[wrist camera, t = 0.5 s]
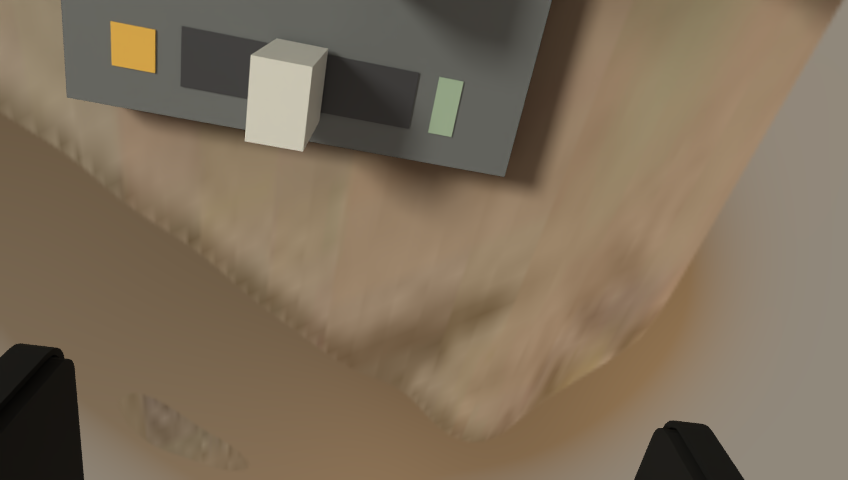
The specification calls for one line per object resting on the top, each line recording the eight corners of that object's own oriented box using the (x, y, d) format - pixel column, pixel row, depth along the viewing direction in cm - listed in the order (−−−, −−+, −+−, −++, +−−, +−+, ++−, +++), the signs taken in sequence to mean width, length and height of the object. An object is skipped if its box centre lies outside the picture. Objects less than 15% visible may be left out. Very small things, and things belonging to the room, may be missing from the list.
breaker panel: (84, -210, 26) (46, -229, 23) (563, -98, 29) (580, -104, 26) (96, 84, 32) (65, 97, 29) (497, 159, 34) (504, 177, 31)
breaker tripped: (276, 38, 28) (250, 54, 23) (328, 48, 28) (312, 66, 23) (270, 111, 29) (244, 141, 25) (319, 121, 29) (303, 151, 25)
